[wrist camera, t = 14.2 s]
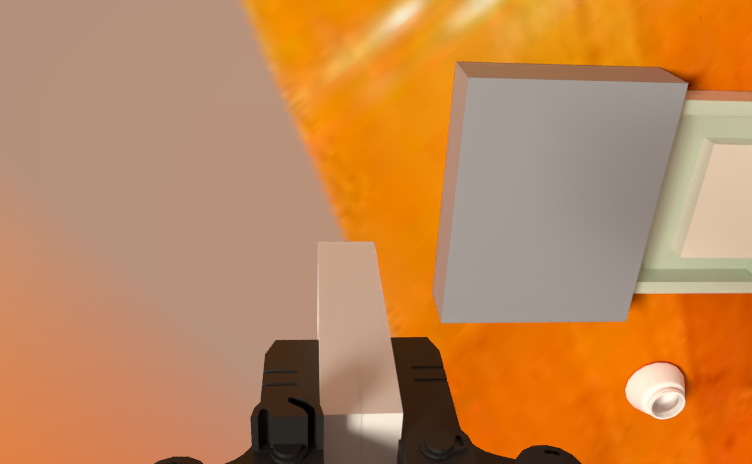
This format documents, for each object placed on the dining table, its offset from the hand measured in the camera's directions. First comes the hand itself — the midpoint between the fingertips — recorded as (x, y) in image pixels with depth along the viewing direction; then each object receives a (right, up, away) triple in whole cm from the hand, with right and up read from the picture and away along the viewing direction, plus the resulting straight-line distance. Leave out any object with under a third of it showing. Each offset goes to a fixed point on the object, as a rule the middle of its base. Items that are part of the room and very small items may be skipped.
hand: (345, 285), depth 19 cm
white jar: (+25, -12, +41) cm, 49 cm away
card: (+27, +4, +31) cm, 41 cm away
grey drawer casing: (+13, +5, +31) cm, 34 cm away
